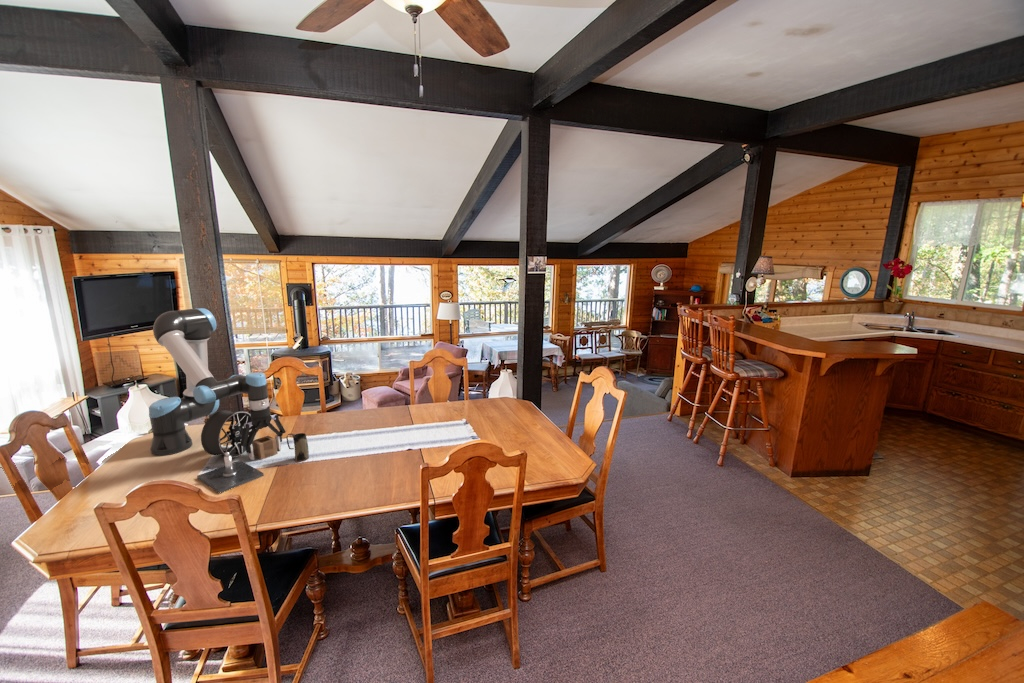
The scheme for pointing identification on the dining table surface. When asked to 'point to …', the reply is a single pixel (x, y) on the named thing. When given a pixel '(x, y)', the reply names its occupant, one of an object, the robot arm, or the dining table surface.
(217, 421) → the wheel rim
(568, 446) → the dining table surface
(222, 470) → the shaft stand
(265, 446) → the hollow wooden cube
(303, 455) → the mug
